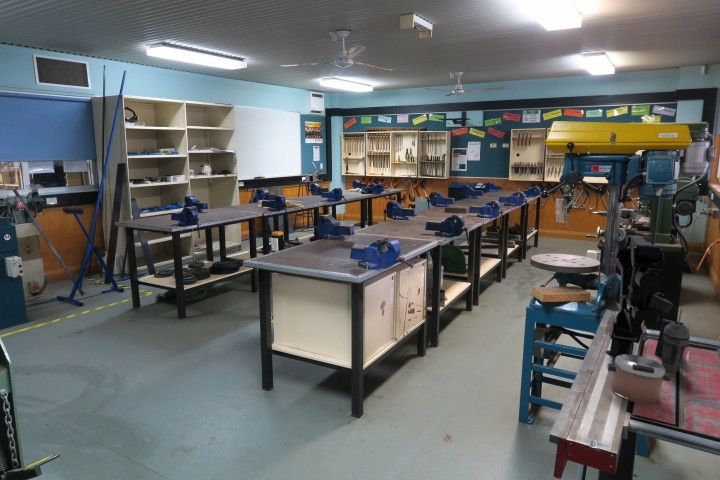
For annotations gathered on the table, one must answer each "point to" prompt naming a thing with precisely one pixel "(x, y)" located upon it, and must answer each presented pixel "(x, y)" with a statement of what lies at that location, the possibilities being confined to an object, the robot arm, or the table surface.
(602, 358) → the table surface
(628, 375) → the cooker pot
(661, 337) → the phone stand
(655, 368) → the cooker lid
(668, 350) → the beverage cup
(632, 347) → the robot arm
